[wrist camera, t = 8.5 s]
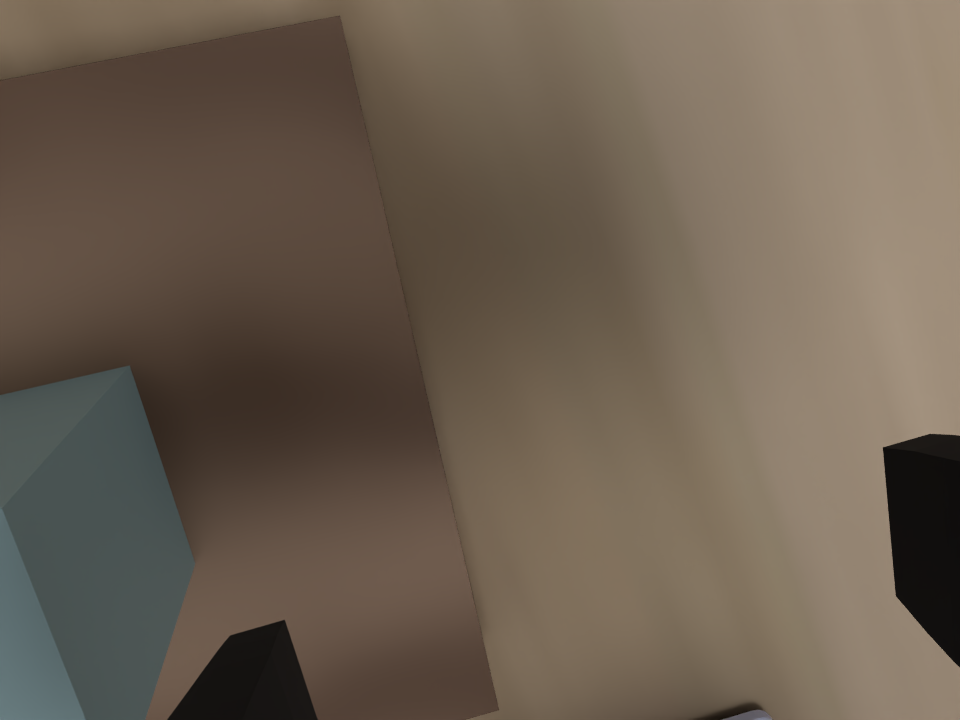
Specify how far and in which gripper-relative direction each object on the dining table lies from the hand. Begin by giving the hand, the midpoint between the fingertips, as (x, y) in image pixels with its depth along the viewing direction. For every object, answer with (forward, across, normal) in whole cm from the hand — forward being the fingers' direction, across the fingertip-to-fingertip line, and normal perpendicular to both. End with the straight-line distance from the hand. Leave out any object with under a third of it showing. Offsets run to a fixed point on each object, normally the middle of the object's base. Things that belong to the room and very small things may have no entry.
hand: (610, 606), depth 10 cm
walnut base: (+9, +8, -1) cm, 12 cm away
